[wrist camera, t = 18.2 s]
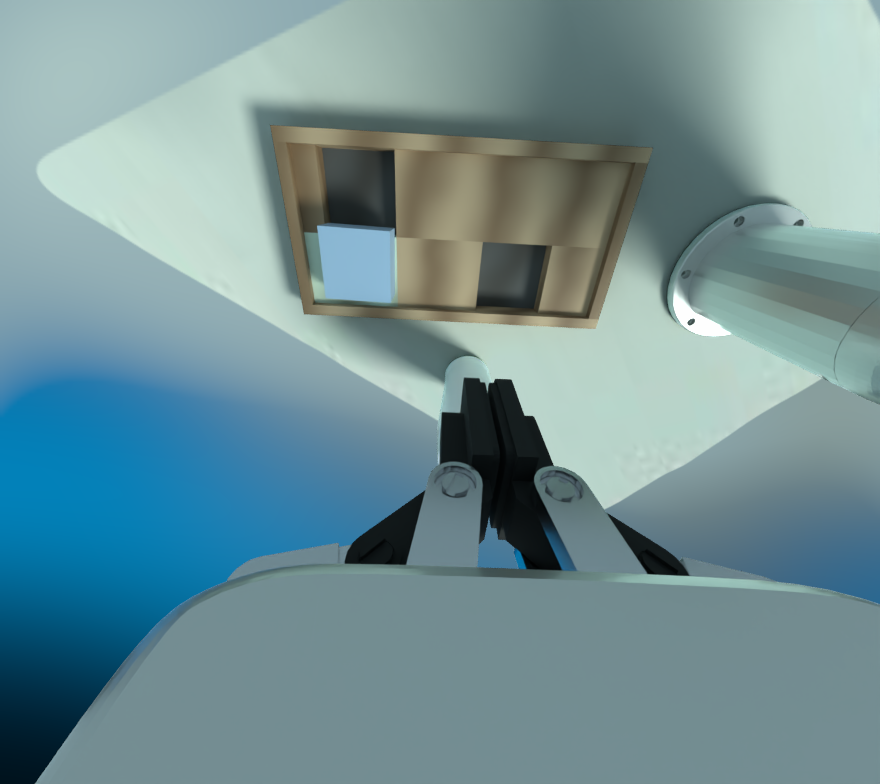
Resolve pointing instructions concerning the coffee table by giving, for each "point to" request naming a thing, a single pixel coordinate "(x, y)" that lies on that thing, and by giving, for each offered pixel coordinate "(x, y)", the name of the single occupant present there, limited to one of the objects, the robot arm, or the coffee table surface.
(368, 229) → the block
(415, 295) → the box
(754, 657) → the robot arm
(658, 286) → the coffee table surface
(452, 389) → the drinking glass
